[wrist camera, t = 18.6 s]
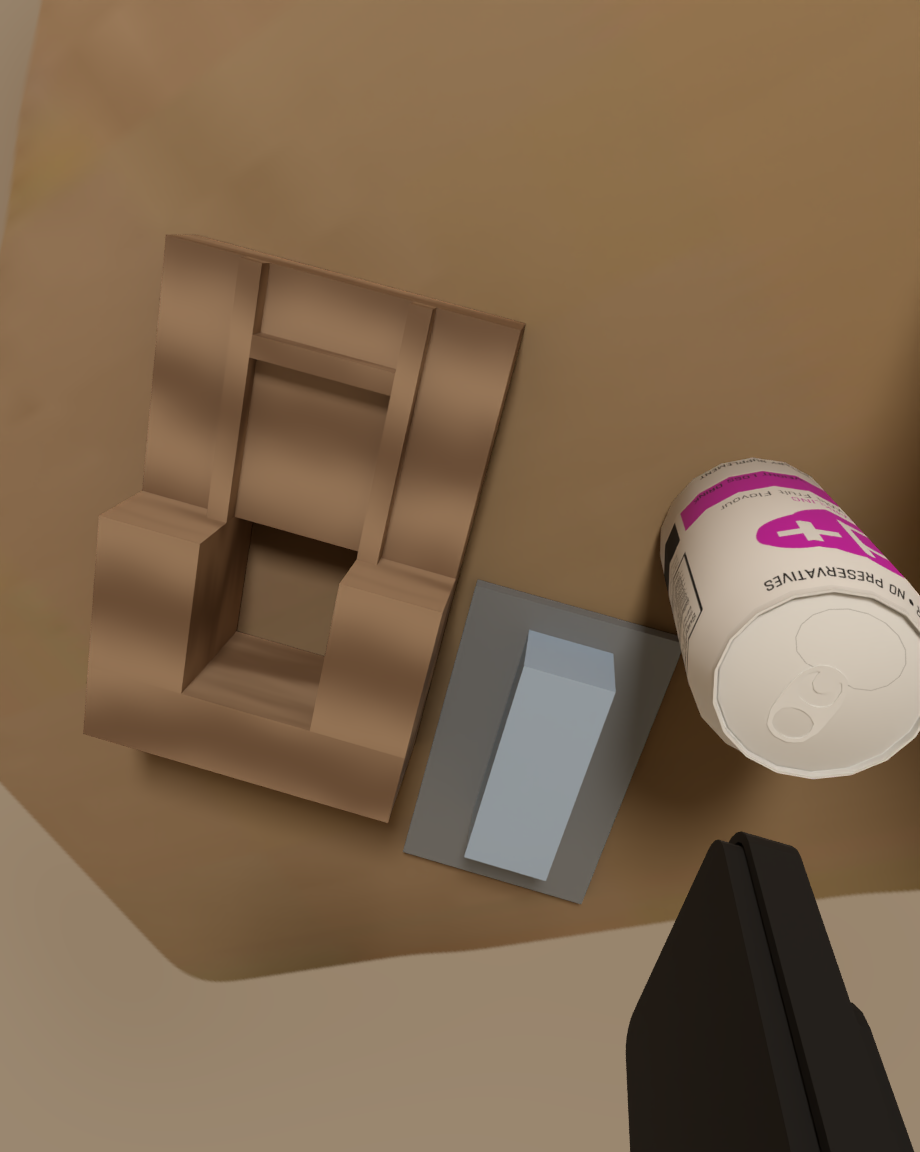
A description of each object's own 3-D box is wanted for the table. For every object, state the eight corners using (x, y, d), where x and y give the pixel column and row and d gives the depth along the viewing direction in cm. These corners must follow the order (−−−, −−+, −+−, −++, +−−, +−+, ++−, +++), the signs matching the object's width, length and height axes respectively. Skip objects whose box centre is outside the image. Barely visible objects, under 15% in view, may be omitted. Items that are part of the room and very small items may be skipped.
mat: (682, 637, 44) (684, 644, 43) (581, 894, 51) (581, 904, 50) (477, 579, 44) (476, 585, 43) (405, 842, 51) (403, 851, 50)
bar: (529, 629, 44) (523, 666, 40) (613, 653, 44) (615, 692, 40) (473, 810, 48) (463, 857, 45) (549, 832, 48) (545, 881, 45)
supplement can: (718, 424, 39) (787, 525, 26) (870, 506, 40) (1019, 650, 26) (627, 565, 43) (646, 723, 29) (768, 640, 43) (853, 831, 29)
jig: (195, 234, 39) (118, 234, 33) (525, 323, 39) (513, 340, 32) (149, 668, 49) (83, 733, 42) (414, 744, 48) (387, 823, 42)
